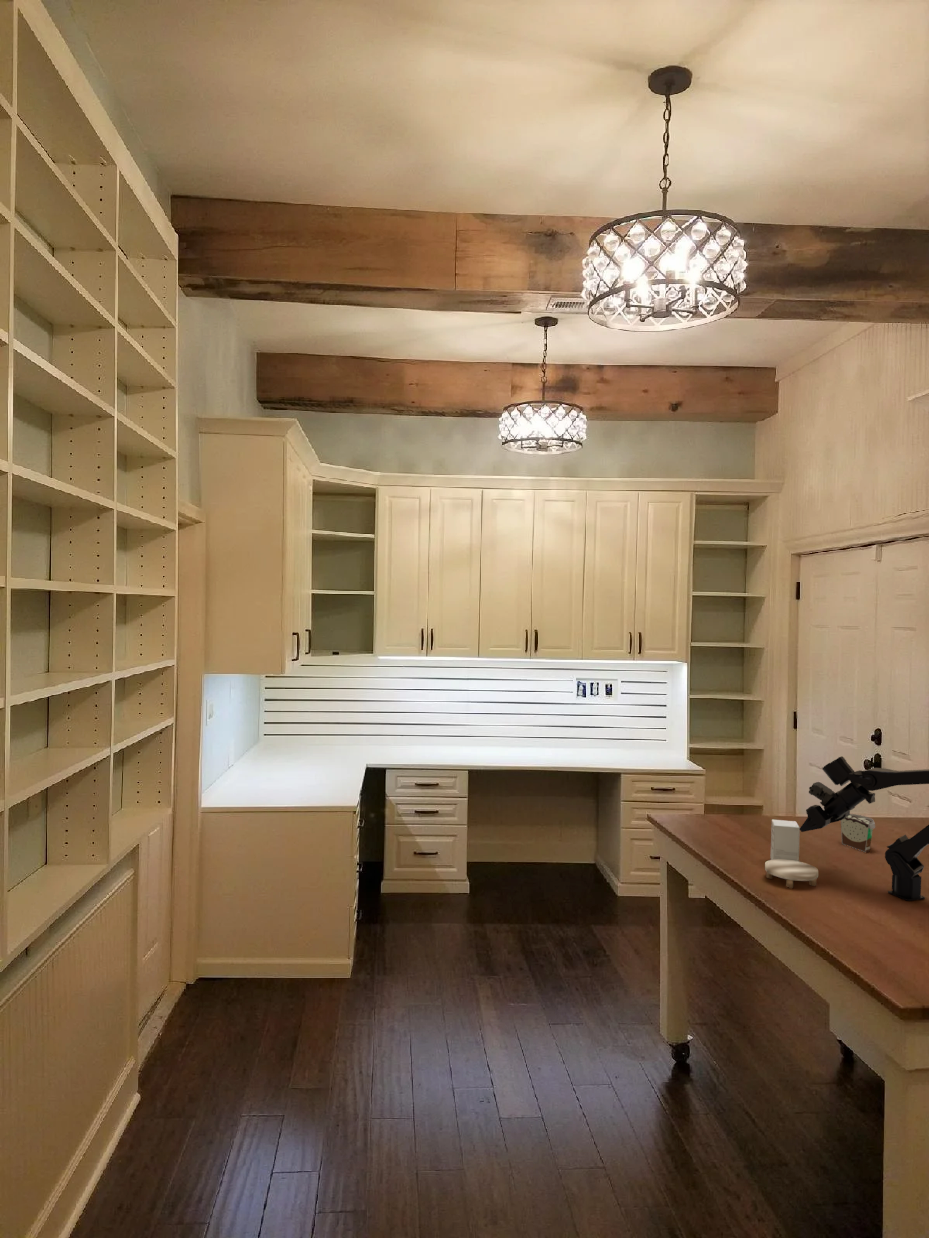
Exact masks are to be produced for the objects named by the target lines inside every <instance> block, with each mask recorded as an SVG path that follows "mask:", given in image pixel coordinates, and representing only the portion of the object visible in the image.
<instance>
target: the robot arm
mask: <svg viewBox="0 0 929 1238" xmlns="http://www.w3.org/2000/svg"><path fill="white" fill-rule="evenodd" d="M821 769H822V771H823V772H824V773H825V774H826V776H827V777H828V778H829V780H831V782H832V783H833V784H834V785H835V786H840V787H842V788H841V789H840V790H837V791H836V792H835V791H834V790H833V789H831V788H830V787H828V786H827V785H825V784H824V783H822V782H819V781H816V782H813V783H812V785H811V786H809V787H808V789H809V790H808V794H809V795H810V796H814V797H815V798H817V799H818V800H819V801H820V802H819V803H820V805H819V804H814V805H810V806H809V807H808V808H807V809H806V810H805V813H806V815H807V817H806V818H805V821H804V822H803V823H802V824H801V826H799V827H800V833H804V832H808V831H814V830H820V829H823V828H825V827H827V826H829V825H830V824H833V823H837V822H841V820H842V819H845V818H846V817H848V816H849V815H850V814H851V810H853V809H855V808H856V807H857V806H858V805H859V804H861V803H862V802H864V801H866V802H867V803H868V804H873V803H875V802H876V793H875V792H874V791H878V790H883V789H887V788H891V787H897V786H911V785H914V786H915V785H929V768H926V769H910V770H909V769H908V770H894V769H890V768H883V767H882V768H881V767H874V768H873V767H872V768H869V769H866V770H859V769H858V770H856V771H855V770H854V769H853V768H852V767H851V765H850V764H849V762H847V759H846V758H845V757H844V756H838V758H836V759H834V760H832V761H830V762H829V763H827V764H825V765H823V767H822V768H821ZM849 782H850V783H849ZM847 783H848V784H847ZM843 786H844V787H843ZM928 845H929V824H928V825H926V826H925V827H924V828H922V829H921V830H920V831H918V832H917V833H916V834H914V835H913V836H912V837H908V836H907V835H906V834H903V835H901V836H899V837H897V839H895V841H894V842H892V843H891V844H889V845H887V846H886V848H887V849H886V851H885V853H884V858H885V859H884V860H885V861H886V863H887V864H888V866H889V867H890V870H891V873H892V876H891V890H888V891H887V893H888V894H889V895H893V896H894V897H898V898H900V899H902V900H904V901H907V902H908V901H909V902H910V901H911V902H912V901H919V900H925V899H926V897H925V896H924V895H922V894H921V893H922V876H921V875H920V874H921V873H922V872H923V871H924V868H925V865H924V864H923V863H922V862H921V860H919V858H918V857H919V856H920V855H921V853H922V852H923V851H924V849H925V848H926V847H927V846H928Z"/></svg>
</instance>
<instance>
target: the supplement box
mask: <svg viewBox="0 0 929 1238" xmlns="http://www.w3.org/2000/svg"><path fill="white" fill-rule="evenodd" d="M770 827H771V831H770V833H771V834H770V836H771V837H770V860H774V859H786V860H794V861H799V862H800V837H801V836H800V833H801V831H800V827H801V826H800V825H799V824H798V823H797V821H795V820H783V819H771V826H770Z"/></svg>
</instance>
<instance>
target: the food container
mask: <svg viewBox="0 0 929 1238" xmlns="http://www.w3.org/2000/svg"><path fill="white" fill-rule="evenodd" d="M875 828H876V823H875V821H874V819H873V818H871V817H869V816H866V815H862V814H856V813H850V815H849V816H848V817H846V818H845V819H842V820H840V835H841V845H843V846H846V845H848V846H850V847H849V848H851V847H852V849H854V848H855V850H857V849H859V850H858V851H860V850H861V851H860V852H862V851H863V853H865V852H866V853H869V852H870V850H871V843H872V837H873V830H874V829H875ZM848 846H847V847H848Z"/></svg>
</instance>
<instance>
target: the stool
mask: <svg viewBox="0 0 929 1238" xmlns="http://www.w3.org/2000/svg"><path fill="white" fill-rule="evenodd" d="M764 870H765V872H766V878H767V879H772V880H773V879H774V877H778V878H780V879H784V880H785V887H786V886H787V887H789V888H788V889H793V888H794V881H799V882H808V884H809V885H810V886H813V887H816V886H817V879H818V877H819V870H818V868H817V867H815V866H814V865H812V864H809V863H807V862H803V861H800V860H799V861H794V860H786V859H774V860H771V859H769V860H767V861H765V863H764ZM787 887H786V888H787Z"/></svg>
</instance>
